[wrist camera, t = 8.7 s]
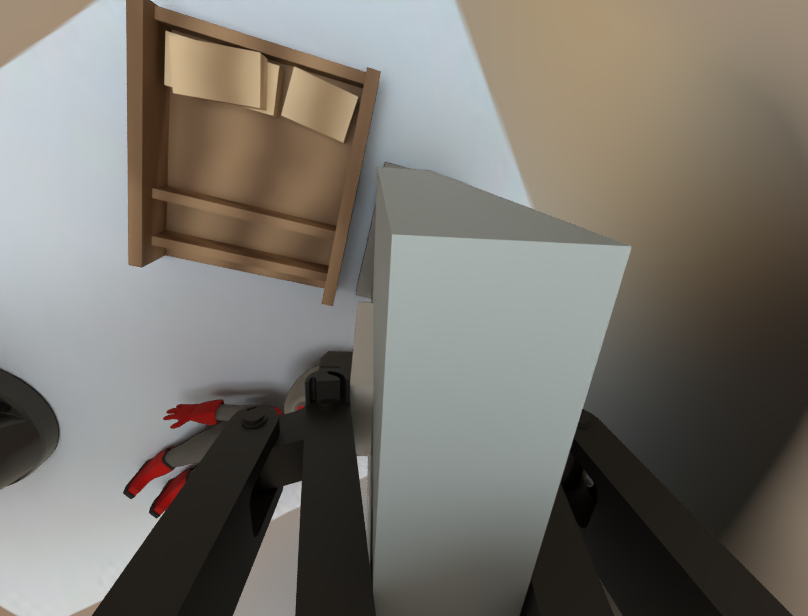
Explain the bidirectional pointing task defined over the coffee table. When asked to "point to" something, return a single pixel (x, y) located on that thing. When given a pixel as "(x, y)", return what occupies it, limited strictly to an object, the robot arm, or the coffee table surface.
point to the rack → (237, 163)
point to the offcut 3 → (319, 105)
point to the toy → (198, 443)
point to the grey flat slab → (474, 388)
